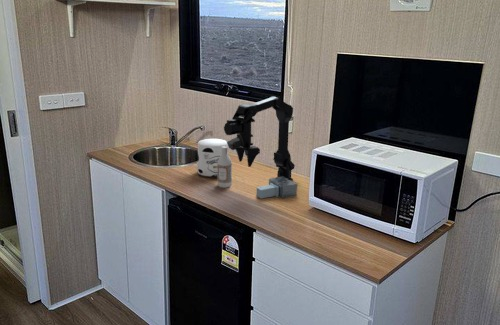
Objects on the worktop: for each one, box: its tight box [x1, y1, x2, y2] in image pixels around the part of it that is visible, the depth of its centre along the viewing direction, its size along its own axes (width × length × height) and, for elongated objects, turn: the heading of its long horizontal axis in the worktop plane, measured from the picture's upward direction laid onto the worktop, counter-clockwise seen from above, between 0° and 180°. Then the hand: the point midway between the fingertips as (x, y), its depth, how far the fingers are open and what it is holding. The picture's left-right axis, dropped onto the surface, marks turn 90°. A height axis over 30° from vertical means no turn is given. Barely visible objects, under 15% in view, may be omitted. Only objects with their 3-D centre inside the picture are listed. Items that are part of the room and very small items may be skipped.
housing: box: [268, 176, 298, 199], centre depth 209 cm, size 8×12×6 cm, turn 30°
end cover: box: [255, 183, 279, 199], centre depth 206 cm, size 16×6×5 cm, turn 120°
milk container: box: [196, 138, 228, 178], centre depth 231 cm, size 17×17×18 cm
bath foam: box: [217, 146, 233, 189], centre depth 215 cm, size 7×7×20 cm
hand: (244, 164), depth 208 cm, fingers open, 9 cm apart
